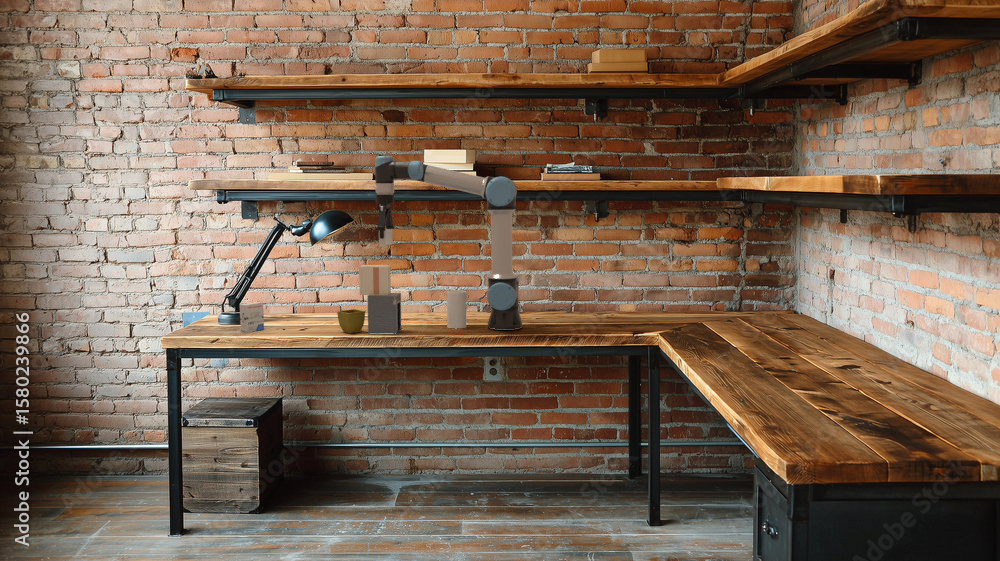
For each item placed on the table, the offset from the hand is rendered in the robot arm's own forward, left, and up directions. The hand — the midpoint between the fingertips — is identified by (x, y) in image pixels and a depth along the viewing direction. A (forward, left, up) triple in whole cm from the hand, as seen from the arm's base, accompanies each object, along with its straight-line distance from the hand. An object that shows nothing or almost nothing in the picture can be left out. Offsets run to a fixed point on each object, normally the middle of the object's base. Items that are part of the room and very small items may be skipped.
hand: (385, 245), depth 306 cm
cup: (-28, -12, -37) cm, 48 cm away
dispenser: (+1, 0, -36) cm, 36 cm away
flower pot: (+15, +1, -37) cm, 40 cm away
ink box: (+58, 0, -37) cm, 69 cm away
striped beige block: (+5, 0, -20) cm, 21 cm away
